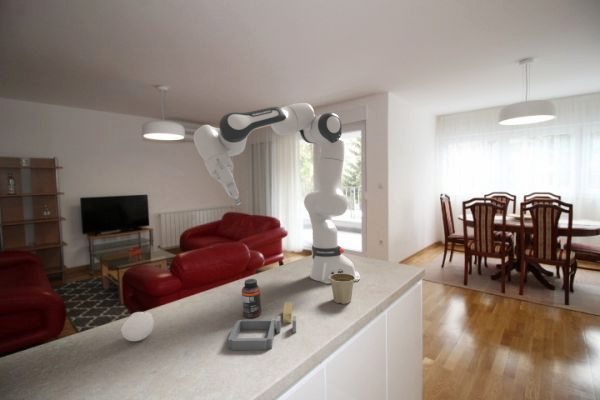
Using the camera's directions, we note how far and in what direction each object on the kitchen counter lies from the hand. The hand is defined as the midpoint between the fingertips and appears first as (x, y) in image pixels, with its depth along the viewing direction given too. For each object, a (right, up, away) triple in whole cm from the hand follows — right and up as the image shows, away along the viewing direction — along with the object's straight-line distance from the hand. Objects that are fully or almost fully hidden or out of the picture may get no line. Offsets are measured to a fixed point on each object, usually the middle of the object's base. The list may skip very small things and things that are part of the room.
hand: (238, 200), depth 97 cm
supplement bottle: (+6, -38, -6) cm, 38 cm away
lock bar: (+18, -37, -8) cm, 42 cm away
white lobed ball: (-23, -39, -19) cm, 49 cm away
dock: (+12, -38, -20) cm, 44 cm away
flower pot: (+37, -36, +4) cm, 52 cm away
